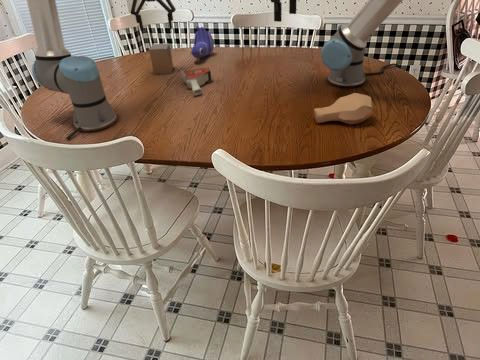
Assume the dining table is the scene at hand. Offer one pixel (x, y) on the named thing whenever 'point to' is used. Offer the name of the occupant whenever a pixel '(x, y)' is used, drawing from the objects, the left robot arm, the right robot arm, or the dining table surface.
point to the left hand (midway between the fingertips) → (156, 29)
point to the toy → (202, 43)
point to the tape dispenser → (196, 79)
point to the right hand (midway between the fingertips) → (285, 17)
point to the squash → (346, 109)
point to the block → (161, 58)
